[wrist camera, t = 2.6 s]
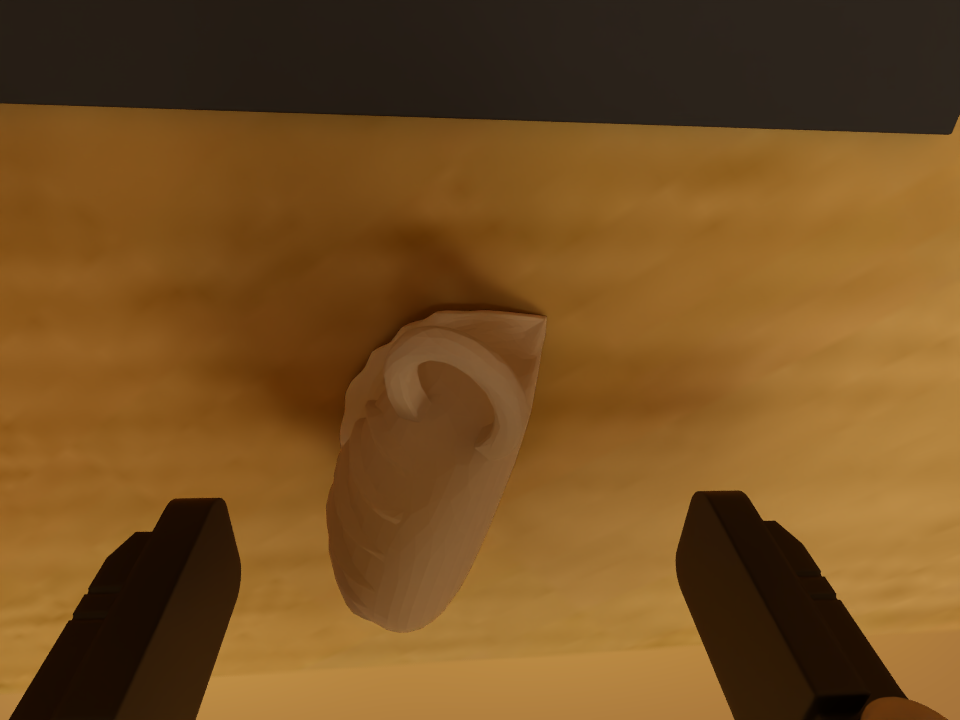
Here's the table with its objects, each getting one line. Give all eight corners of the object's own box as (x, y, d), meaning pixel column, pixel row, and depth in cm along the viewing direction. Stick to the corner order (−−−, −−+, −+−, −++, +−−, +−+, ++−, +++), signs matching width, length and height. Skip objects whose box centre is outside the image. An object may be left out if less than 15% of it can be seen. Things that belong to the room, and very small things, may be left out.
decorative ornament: (320, 500, 16) (275, 698, 11) (400, 205, 12) (379, 325, 8) (464, 527, 17) (475, 722, 12) (581, 260, 13) (661, 398, 8)
